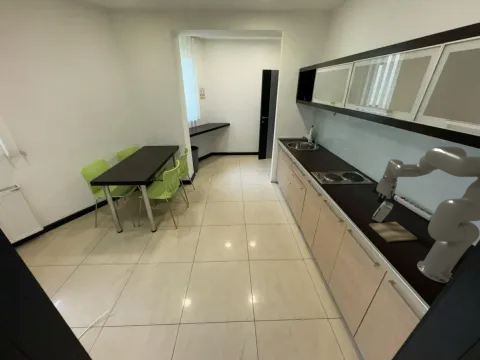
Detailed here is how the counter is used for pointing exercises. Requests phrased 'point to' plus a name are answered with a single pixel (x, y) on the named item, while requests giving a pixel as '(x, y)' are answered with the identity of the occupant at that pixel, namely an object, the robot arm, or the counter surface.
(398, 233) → the oak board
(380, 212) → the syrup box
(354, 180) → the counter surface
